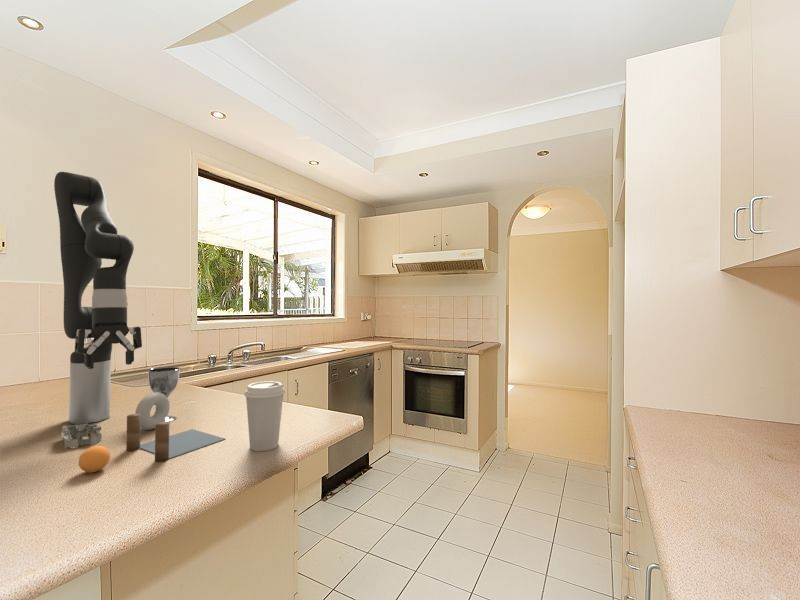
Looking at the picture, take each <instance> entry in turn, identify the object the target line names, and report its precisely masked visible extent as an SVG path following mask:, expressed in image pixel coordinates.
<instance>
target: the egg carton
mask: <svg viewBox="0 0 800 600" xmlns="http://www.w3.org/2000/svg"><path fill="white" fill-rule="evenodd" d="M101 431H102V426H101V425H98V424H97V423H96V422H93V424H89V423H85V424H73V425H63V426H62V430H61V437H62V441H63V440H64V441H63V445H64V444H65V445H64V449H65V448H66V447H72V448H71V449H74V448H73V447H78V446H79V445H81V446H83V445H82V444H86V445H90V444H93V445H96V444H97V443H100V442H101V441H102V437H103V436H102V432H101ZM88 433H90V434H88ZM88 435H89V436H88ZM72 436H76V437H75V438H74V437H72ZM99 441H100V442H99ZM96 442H97V443H96ZM95 443H96V444H95ZM79 447H80V446H79ZM79 447H78V448H79ZM66 449H67V448H66Z"/></svg>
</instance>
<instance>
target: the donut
mask: <svg viewBox="0 0 800 600" xmlns="http://www.w3.org/2000/svg"><path fill="white" fill-rule="evenodd" d="M154 406H155V411H154V413H153V415H151V411H152V408H153V407H154ZM170 407H171V405H170V400H169V397H168V398H167V397H166V396H165V395H164V394H162V393H159V392H155V393H154V392H151V393H148V394H146V395H145V396H144V397H143V398H142V399H141V400H140V401H139V403H138V404H137V406H136V409H135V413H134V414H140V429H143V430H147V431H149V430H155V424H157V423H160V422H164V421H165V419H166V418H167V416H169V412H170V409H171V408H170Z"/></svg>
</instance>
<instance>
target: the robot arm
mask: <svg viewBox="0 0 800 600" xmlns="http://www.w3.org/2000/svg"><path fill="white" fill-rule="evenodd" d="M53 185H54V186H53V187H54V188H53V189H54V197H55V202H56V207H57V208H56V209H57V214H58V222H59V239H60V240H59V241H60V242H59V243H60V244H59V245H60V260H61V269H62V277H63V278H62V280H63V328H64V333H65V335H66V337H67V338H68V339H71V340H73V339H74V351H73V352H72V353H71V354H70V361H69V362H70V363H69V364H70V365H69V399H68V400H69V401H68V402H69V405H68V406H69V407H68V410H69V411H68V423H69V424H71V425H72V424H73V425H80V424H82V425H84V424H86V423H88V424H92V423H96V422H101V421H104V420H106V419H108V418H110V415H111V414H110V410H111V378H112V377H111V374H112V373H111V372H112V371H111V367H112V365H111V364H112V362H111V361H112V352H113V351H112V350H113V345H115V344H119V345H121V346H122V347H123V348H125V365H129V366H130V365H133V363H134V361H135V350H137V349H141V348H142V346H143V343H142V342H143V341H142V327H140V326H133V327H129V326H128V305H129V304H128V296H127V281H126V280H127V274H128V273H127V272H128V268H129V264H130V262H131V260H132V259H131V258H132V256H133V253H134V248H135V247H134V242H133V240H132V239H131V238H130V237H129V236H127V235H124V234H118V229H117V226H116V224H115V222H114V220H113V218H112V217H111V214H110V213H109V207H108V202H107V199H106V194H105V191H104V187H103V184H102V182H100V180H99V179H97V178H95V177H92V176H87V175H83V174H78V173H73V172H69V171H68V172H67V171H59V172H57V173H56V174H55V177H54V183H53ZM74 205H76V206H83V207H86V208H85V209H84V210H83V211H82V213H81V215H80V217H79V215H78V214H77V211H76V209H75V206H74ZM102 260H112V261H113V260H114V261H115V262H114V263H113V265H112V266H104V267H102V263H103V262H102ZM91 282H93V284H92V285H93V287H92V289H93V290H92V297H91V306H82V297H83V294H84V292H85V290H86V288H87V287H88V285H89V284H90V283H91ZM128 333H130V335H132V342H133V343H131V341H130V340H129V339H128V338H127V337H126V336H127V335H129V334H128ZM86 339H92V340H91V341H90V343H88V345H87V346H86V347H85V340H86Z"/></svg>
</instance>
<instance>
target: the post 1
mask: <svg viewBox="0 0 800 600" xmlns="http://www.w3.org/2000/svg"><path fill="white" fill-rule="evenodd" d="M125 444H126V445H125V446H126V447H125V448H126V451H127V452H134V451H138V450H139V449H140V445H141V427H140V414H135V413H131V414H128V415H126V443H125Z"/></svg>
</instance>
